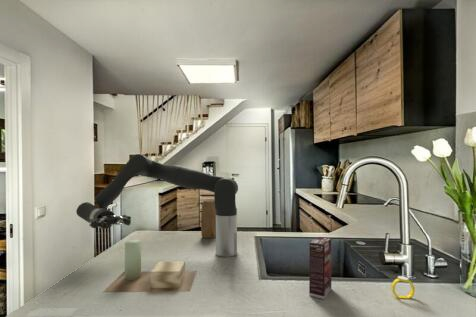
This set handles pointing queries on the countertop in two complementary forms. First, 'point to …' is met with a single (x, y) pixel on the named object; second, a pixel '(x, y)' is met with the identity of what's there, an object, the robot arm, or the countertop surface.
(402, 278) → the watch
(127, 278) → the sage cylinder
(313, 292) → the supplement box
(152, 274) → the beech brick
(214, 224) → the block
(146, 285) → the walnut board
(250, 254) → the countertop surface
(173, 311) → the countertop surface
